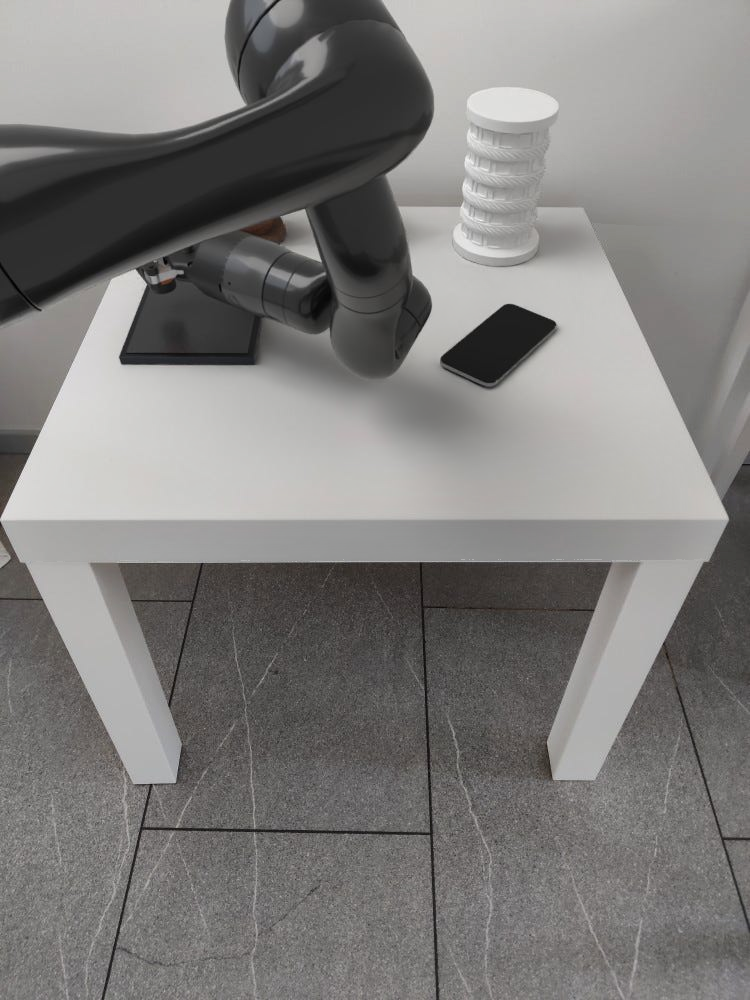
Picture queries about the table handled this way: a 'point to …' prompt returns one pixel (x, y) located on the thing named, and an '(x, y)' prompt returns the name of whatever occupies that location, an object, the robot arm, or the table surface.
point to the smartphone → (498, 344)
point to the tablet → (190, 330)
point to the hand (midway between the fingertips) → (132, 228)
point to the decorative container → (503, 174)
